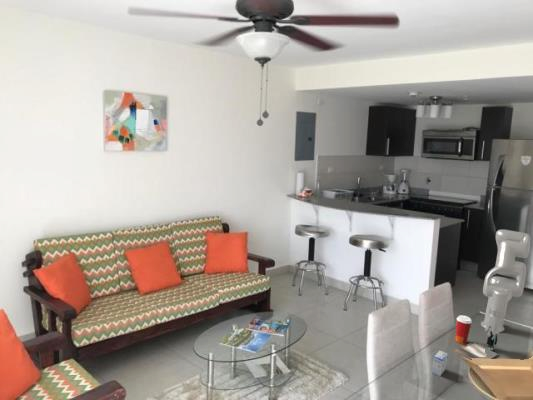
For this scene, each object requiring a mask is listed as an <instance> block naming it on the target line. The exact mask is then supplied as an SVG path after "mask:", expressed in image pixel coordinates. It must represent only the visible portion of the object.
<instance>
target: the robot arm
mask: <svg viewBox="0 0 533 400" xmlns="http://www.w3.org/2000/svg"><path fill="white" fill-rule="evenodd" d="M495 241H496V246H497V254H496V261H495V266H494V267H493V268H491V269H490V270H488V272H487V273H486V274H485V277H484V282H483V287H482V294H483V295H484V296H485V297H487V298H488V300H487V303H486V305H487V306H486V309H485V315H484V320H482V321H480V325H481V327H482V328H484V332H486V336H487V341H486V344H487V346H488V345H490V346H493V344H494V335H495V334H496V339H495V345H494V346H496V345H497V344H498V343H497V342H498V338H499V334H500V333H502V332H504V331H505V327H504V322H505V318H506V313H507V308H508V303H509V301H510V300H512V299H513V298H514V297H515V298H520V297H522V295H523V293H524V289H525V282H526V274H527V266H526V264H525V262H521V261H517V260H516V258H520V259H521V258H522V259H527V258H528V256H529V254H530V252H531V251H530V250H531V235H530V234H529V233H525V232H520V231H516V230H509V229H498V230H497V231H496V233H495ZM497 274H498V275H501V276H497ZM502 276H507V277H509V278H507V277H502ZM512 278H514V279H512ZM491 332H492V333H491Z"/></svg>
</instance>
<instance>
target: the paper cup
mask: <svg viewBox="0 0 533 400" xmlns="http://www.w3.org/2000/svg"><path fill="white" fill-rule="evenodd" d="M472 323H473V322H472V319H471V317H469V316H467V315H458V316H457V317H456V327H455V328H456V329H455V337H454V338H455V340H454V342H456V343H458V344H460V345H467V342H468V337H469V335H470V330H471V325H472Z"/></svg>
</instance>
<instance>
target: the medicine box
mask: <svg viewBox="0 0 533 400" xmlns="http://www.w3.org/2000/svg"><path fill="white" fill-rule="evenodd" d="M448 358H449V353H447V352H444V351H443V350H438V352H437V353H436V354H435V355H434V356H433V361H432V366H431V371H430V372H431V373H432V374H434V375H436V376H438V377H441V376H442V375H443V373H444V372H445V371H446V370H447V363H448Z"/></svg>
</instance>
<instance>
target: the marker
mask: <svg viewBox="0 0 533 400" xmlns="http://www.w3.org/2000/svg"><path fill="white" fill-rule="evenodd" d="M491 333H492V332H491ZM495 339H496V334H495V335H494V344H493V346H490V345H488V344H487V347H490V348H494V349H495V346H496V345H495Z"/></svg>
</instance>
